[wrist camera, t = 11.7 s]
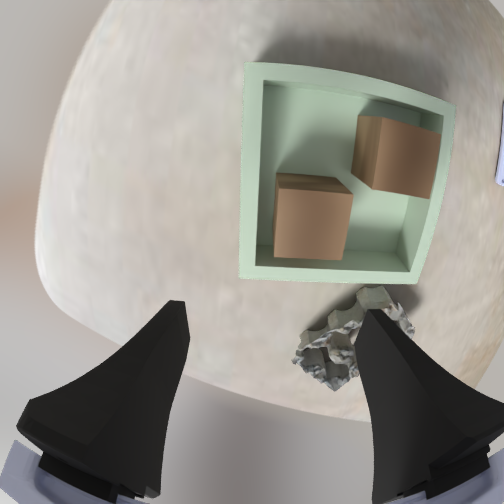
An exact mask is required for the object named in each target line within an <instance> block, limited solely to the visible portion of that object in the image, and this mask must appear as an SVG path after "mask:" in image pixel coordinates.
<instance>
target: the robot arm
mask: <svg viewBox="0 0 504 504" xmlns="http://www.w3.org/2000/svg"><path fill="white" fill-rule="evenodd" d="M495 180H496V183H497V184H499V185H502V186H504V105H503V125H502V136H501V145H500V153H499V160H498V166H497V172H496V177H495ZM189 342H190V333H189V327H188V321H187V314H186V307H185V301H174V300H170V301H168V302H167V303H166V304H165V305H164V306H163V307H162V308H161V309H160V311H159V312H158V313H157V314H156V315H155V316H154V317H153V318H152V319H151V320H150V321H149V322H148V323H147V324H146V325H145V326H144V327H143V328H142V329H141V330H140V331H139V332H138V333H137V334H136V335H135V336H134V337H133V338H131V339H130V340H129V341H128V342H127V343H126V344H125V345H124V346H122V347H121V348H120V349H119V350H118V351H117V352H115V353H114V354H113V355H112V356H110V357H109V358H108V359H107V360H105V361H104V362H103V363H101V364H100V365H99V366H97V367H95V368H94V369H92V370H91V371H89V372H87V373H86V374H85V375H83V376H81V377H79V378H78V379H76V380H74V381H72V382H70V383H69V384H67V385H65V386H62V387H60V388H58V389H56V390H54V391H52V392H49V393H47V394H44V395H41V396H39V397H36V398H34V399H30V400H29V402H28V404H27V405H26V407H25V409H24V411H23V413H22V415H21V417H20V419H19V421H18V423H17V425H16V427H17V429H18V431H19V432H20V433H21V434H22V435H23V436H25V437H26V438H27V439H28V440H29V441H31V442H32V443H33V444H34V445H36V446H37V447H38V448H39V449H41V450H42V451H43V454H42V457H41V456H40V455H38V454H37V453H35V452H34V451H32V450H30V449H29V448H27V447H26V446H24V445H23V444H21V443H20V442H18V441H17V440H14V443H13V445H12V448H11V450H10V452H9V455H8V457H7V460H6V463H5V465H4V468H3V471H2V473H1V476H0V488H1V489H2V490H3V491H4V492H6V493H7V494H8V495H9V496H10V497H12V498H13V499H14V500H15V501H17V502H18V503H19V504H148V503H144V502H141V501H138V500H134V498H135V496H136V497H139V498H144V496H145V497H149V498H155V497H157V496H159V495H160V490H161V470H162V462H163V451H164V445H165V438H166V431H167V426H168V420H169V414H170V410H171V407H172V403H173V400H174V397H175V393H176V390H177V387H178V384H179V381H180V378H181V375H182V371H183V368H184V365H185V362H186V358H187V353H188V348H189ZM354 346H355V354H356V360H357V366H358V370H359V373H360V377H361V381H362V384H363V388H364V391H365V395H366V399H367V403H368V406H369V411H370V416H371V423H372V431H373V445H374V481H373V492H372V504H384V503H386V504H501V503H502V502H504V448H503V449H502V450H500V451H499V452H497V453H495V454H494V455H492V456H491V457H489V458H488V457H487V453H488V452H490V447H489V444H490V443H491V442H492V441H494V440H495V439H496V438H497V437H498V436H500V435H501V434H502V433H503V432H504V403H502V402H499V401H497V400H495V399H492V398H490V397H488V396H486V395H484V394H482V393H480V392H478V391H476V390H475V389H473V388H471V387H469V386H468V385H466V384H465V383H463V382H462V381H460V380H459V379H457V378H456V377H454V376H453V375H451V374H450V373H449V372H447V371H446V370H445V369H444V368H442V367H441V366H440V365H439V364H437V363H436V362H435V361H434V360H433V359H432V358H430V357H429V356H428V355H427V354H426V353H425V352H424V351H423V350H422V349H421V348H420V347H419V346H418V345H417V344H416V343H415V342H414V341H412V340H411V339H410V337H409V336H408V335H407V334H406V333H405V332H404V331H403V330H402V329H401V328H400V327H399V326H398V325H397V324H396V323H395V322H394V321H393V320H392V319H391V318H390V317H389V316H388V315H387V314H386V313H385V312H384V311H382V310H381V309H367V312H366V314H365V317H364V320H363V323H362V325H361V328H360V330H359V333H358V336H357V338H356V341H355V343H354ZM401 498H402V499H401ZM398 499H399V500H398ZM395 500H396V501H395ZM391 501H393V502H391ZM388 502H389V503H388Z"/></svg>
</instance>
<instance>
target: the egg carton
mask: <svg viewBox="0 0 504 504" xmlns="http://www.w3.org/2000/svg"><path fill="white" fill-rule="evenodd" d="M356 295H357V301H356V303H355V305H354V306H353V307H352V308H350V309H349V310H345V311H338V310H336V309H335V310H334V311H332V313H331V314H330V315H328V316H327V317H328V324H327V326H326V327H325V328H324V329H322V330H319V331H309V330H306V331H304V332H303V333H302V334H301V335H300V339H301V343H300V345H299V346H298V348H299V349H298V350H296V357H295V358H294V359H292V362H293V364H296V363H297V364H299V365H300V366H301V367H302V368H303V370H304V372H305V373H310V374H311V375H312V376H313V378H316V379H317V380H318V381H319V382H320V383H323V382H324V383H325V384H326V385H327V386H328V387H329V388H330V389H332V390H333V391H337V390H338V389H339V388H340V387H341V386H342V385H344V384H345V383H347V382H348V381H349V380H350V378H353V377H358V376H359V374H360V373H359V370H358V366H357V360H356V354H355V346H354V345H353V346H352V344H351V341H350V337H349V334H348V333H350V331H351V330H352V329H355V328H357V327H360V328H361V325H362V323H363V320H364V317H365V314H366V312H367V309H381V310H382V311H384V312H385V313H387V314H388V316H389V317H390V318H391V319H392V320H396V321H397V320H398V322H397V323H396V324H397V325H398V326H399V327H400V328H401V329H402V330H403V331H404V332H405V333H406V334H407V335H408V336H409V337H410V339H412V337H413V335H414V332H415V327H414V326H412V324H411V322H410V320H409V319H408V318H407V316H406V314H405V312H404V310H403V308H402V307H401V305H400V304H399V302H397V304H396V305H395V304H394V303H393V301H392V300H391V298H390V296H389V294H388V292H387V291H386V289H385V288H384V287H383V286H382V285H380V286H378V287H376V288H367V287H364V288H362V289H360V290H359V291H358V292H357V293H356ZM333 331H334V332H333ZM307 347H309V348H310V349H307V350H305V351H304V349H305V348H307ZM314 347H315V348H314ZM321 347H327V348H328V353H329V357H330V358H331V360H332V361H329V362H326V363H325V362H324V357H323V353H322V351H321V350H320V349H317V348H321Z"/></svg>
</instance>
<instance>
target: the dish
mask: <svg viewBox="0 0 504 504" xmlns="http://www.w3.org/2000/svg"><path fill="white" fill-rule="evenodd" d="M455 114H456V105H453V104H451V103H449V102H446V101H444V100H441V99H439V98H436V97H433V96H431V95H428V94H425V93H422V92H420V91H417V90H414V89H410V88H407V87H404V86H401V85H397V84H394V83H390V82H387V81H383V80H379V79H375V78H371V77H367V76H363V75H358V74H353V73H348V72H343V71H337V70H331V69H325V68H318V67H311V66H302V65H293V64H281V63H264V62H244V87H243V115H242V146H241V184H240V231H239V278H241V279H260V280H281V281H304V282H332V283H371V284H417V281H418V279H419V276H420V273H421V270H422V268H423V265H424V262H425V259H426V256H427V253H428V250H429V247H430V244H431V240H432V237H433V234H434V230H435V227H436V223H437V219H438V215H439V212H440V208H441V203H442V199H443V195H444V190H445V185H446V180H447V175H448V170H449V164H450V158H451V151H452V144H453V135H454V126H455ZM358 115H362V116H377V117H384V118H388V119H392V120H396V121H400V122H403V123H407V124H410V125H414V126H417V127H420V128H423V129H427V130H430V131H433V132H436V133H439V134H441V139H440V146H439V153H438V159H437V165H436V170H435V176H434V181H433V185H432V190H431V194H430V199H424V198H419V197H414V196H409V195H403V194H397V193H391V192H385V191H379V190H372V189H371V188H370V187H368V186H367V185H366V184H364V183H363V182H362V181H361V180H359V179H358V178H357V177H355V176H354V175H353V174H351V168H352V161H353V153H354V145H355V136H356V127H357V117H358ZM276 172H278V173H293V174H306V175H317V176H327V177H336V178H337V179H338V180H339V181H340V182H341V183H342V184H343V185H344V186H345V187H346V188H347V189H348V190H349V191H351V192H352V193H353V194H354V197H353V203H352V209H351V215H350V220H349V226H348V231H347V236H346V241H345V246H344V251H343V256H342V260H323V259H302V258H281V257H274V249H273V232H272V226H273V211H274V196H275V180H276Z"/></svg>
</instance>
